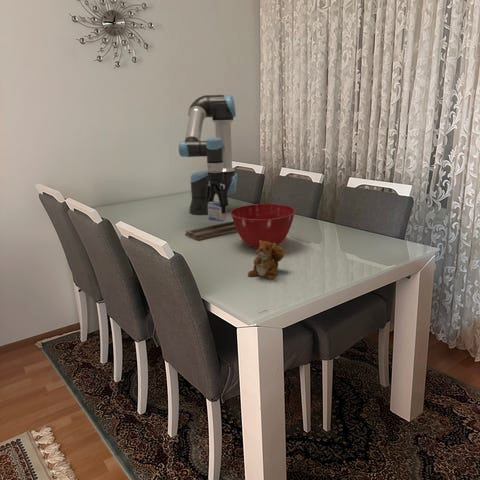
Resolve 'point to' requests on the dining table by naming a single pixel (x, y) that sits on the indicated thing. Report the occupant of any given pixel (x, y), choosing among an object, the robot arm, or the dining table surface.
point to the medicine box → (214, 211)
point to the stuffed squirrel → (267, 260)
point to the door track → (212, 231)
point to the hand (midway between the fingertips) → (217, 217)
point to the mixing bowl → (263, 223)
